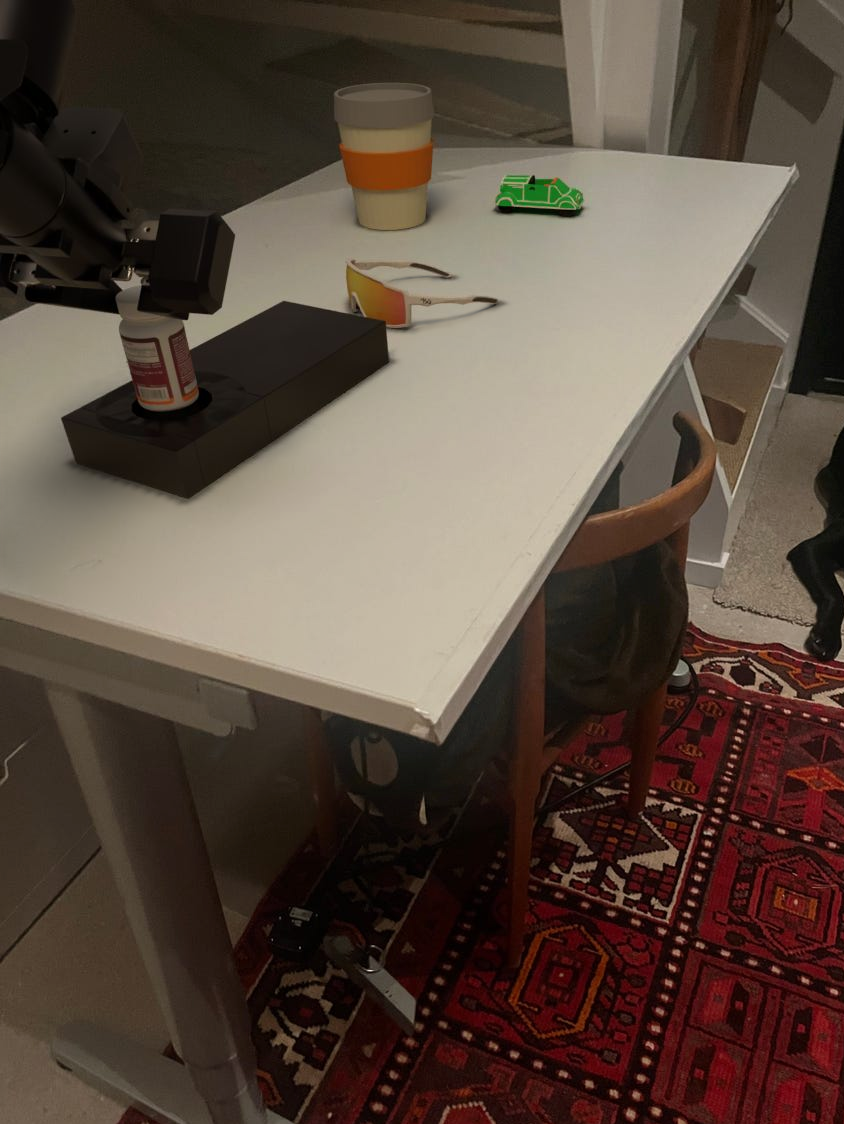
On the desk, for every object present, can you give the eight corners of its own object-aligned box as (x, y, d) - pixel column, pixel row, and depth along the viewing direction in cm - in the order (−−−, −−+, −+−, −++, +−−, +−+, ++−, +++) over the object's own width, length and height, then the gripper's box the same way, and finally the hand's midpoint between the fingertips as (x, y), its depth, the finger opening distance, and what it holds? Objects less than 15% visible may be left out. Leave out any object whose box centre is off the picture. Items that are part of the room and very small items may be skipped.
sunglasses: (323, 297, 102) (323, 250, 99) (440, 289, 109) (444, 245, 106) (384, 339, 92) (386, 288, 90) (507, 327, 100) (513, 280, 97)
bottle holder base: (188, 498, 70) (176, 451, 68) (75, 463, 75) (60, 417, 72) (389, 361, 89) (386, 320, 86) (289, 339, 93) (283, 300, 91)
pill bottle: (184, 382, 76) (160, 277, 71) (209, 401, 73) (187, 294, 68) (128, 398, 74) (99, 291, 68) (152, 418, 71) (124, 309, 66)
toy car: (491, 213, 126) (490, 178, 123) (500, 202, 129) (500, 168, 127) (578, 218, 123) (579, 182, 120) (584, 207, 127) (586, 172, 124)
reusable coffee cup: (346, 236, 119) (332, 104, 109) (344, 209, 128) (331, 84, 119) (443, 231, 120) (437, 99, 110) (434, 204, 129) (428, 80, 120)
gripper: (190, 68, 54) (291, 217, 69) (-84, 62, 57) (70, 205, 73) (155, 250, 53) (265, 360, 68) (-121, 232, 57) (42, 341, 72)
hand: (158, 311), depth 70 cm, fingers closed on pill bottle, 4 cm apart
